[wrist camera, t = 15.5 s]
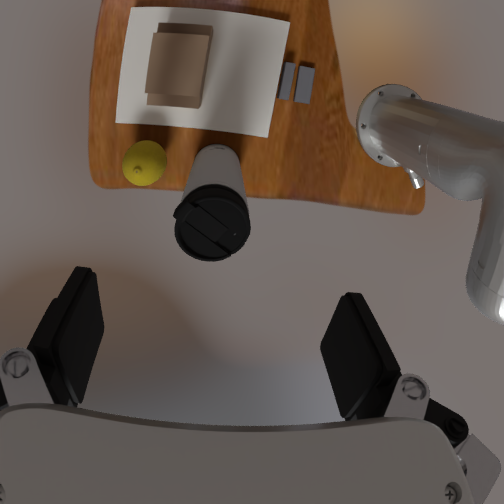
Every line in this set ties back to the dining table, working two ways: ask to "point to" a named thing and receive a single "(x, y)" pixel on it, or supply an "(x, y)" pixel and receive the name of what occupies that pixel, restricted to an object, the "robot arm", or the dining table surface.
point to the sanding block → (178, 65)
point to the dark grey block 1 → (286, 80)
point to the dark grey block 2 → (304, 84)
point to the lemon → (144, 163)
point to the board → (208, 71)
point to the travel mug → (213, 206)
